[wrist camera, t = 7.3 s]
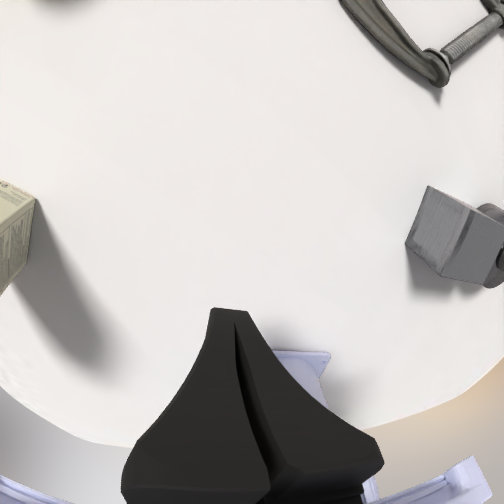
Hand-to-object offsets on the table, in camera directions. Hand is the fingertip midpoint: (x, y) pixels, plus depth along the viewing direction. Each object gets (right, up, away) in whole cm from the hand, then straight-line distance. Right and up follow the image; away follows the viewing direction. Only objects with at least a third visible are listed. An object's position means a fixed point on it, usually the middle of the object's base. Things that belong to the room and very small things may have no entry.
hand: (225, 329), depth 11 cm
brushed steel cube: (+16, +5, +10) cm, 20 cm away
